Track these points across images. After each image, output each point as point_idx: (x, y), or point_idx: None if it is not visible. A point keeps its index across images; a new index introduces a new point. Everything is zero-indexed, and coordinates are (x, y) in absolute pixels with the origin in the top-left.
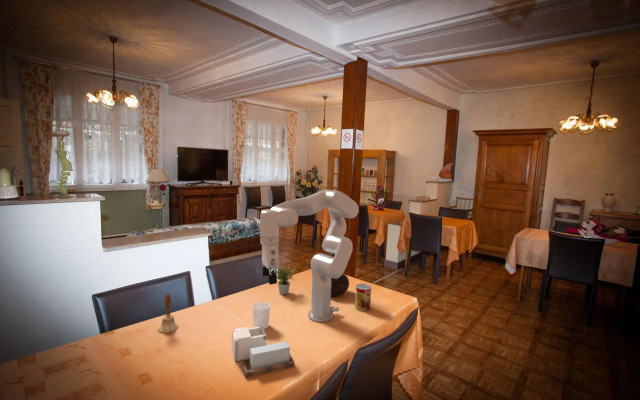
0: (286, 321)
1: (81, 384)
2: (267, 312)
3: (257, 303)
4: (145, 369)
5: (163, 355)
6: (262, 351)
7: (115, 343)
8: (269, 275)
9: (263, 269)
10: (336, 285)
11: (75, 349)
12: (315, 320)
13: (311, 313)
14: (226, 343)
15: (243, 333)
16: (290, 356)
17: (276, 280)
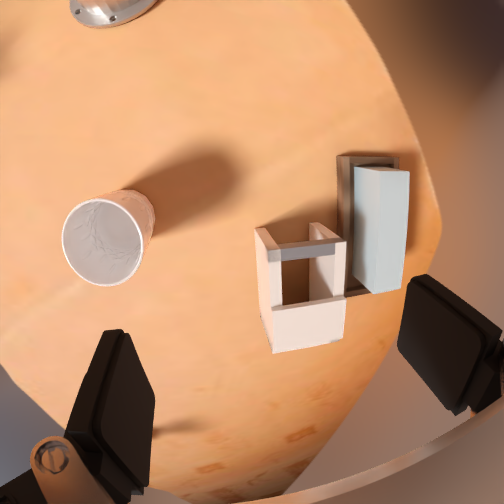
0: (111, 112)
1: (282, 476)
2: (136, 209)
3: (70, 258)
4: (276, 440)
5: (238, 431)
6: (399, 259)
7: (179, 478)
8: (464, 405)
9: (147, 468)
10: None
11: (190, 498)
12: (150, 6)
13: (107, 12)
14: (219, 330)
15: (317, 323)
16: (375, 159)
17: (444, 292)
